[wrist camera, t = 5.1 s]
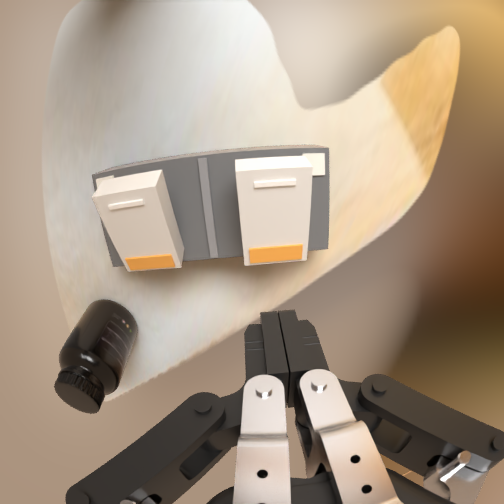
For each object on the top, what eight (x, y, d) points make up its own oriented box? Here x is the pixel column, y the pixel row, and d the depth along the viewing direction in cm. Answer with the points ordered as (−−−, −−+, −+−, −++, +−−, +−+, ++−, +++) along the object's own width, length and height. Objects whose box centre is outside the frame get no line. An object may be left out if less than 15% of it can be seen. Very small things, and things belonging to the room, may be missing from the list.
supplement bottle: (111, 347, 31) (79, 420, 20) (78, 306, 28) (32, 377, 17) (150, 334, 30) (123, 418, 19) (116, 289, 27) (69, 369, 16)
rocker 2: (235, 159, 17) (235, 172, 15) (304, 155, 17) (313, 167, 15) (243, 248, 21) (244, 267, 19) (301, 243, 21) (307, 261, 19)
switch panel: (112, 167, 22) (90, 175, 18) (314, 144, 22) (330, 148, 18) (128, 247, 25) (112, 268, 21) (315, 231, 25) (329, 250, 21)
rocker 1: (102, 180, 16) (90, 198, 15) (162, 169, 16) (154, 187, 15) (133, 253, 21) (127, 273, 20) (184, 248, 21) (181, 269, 20)
